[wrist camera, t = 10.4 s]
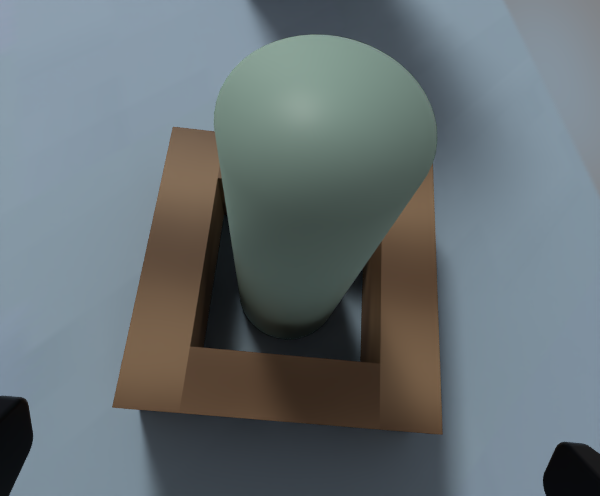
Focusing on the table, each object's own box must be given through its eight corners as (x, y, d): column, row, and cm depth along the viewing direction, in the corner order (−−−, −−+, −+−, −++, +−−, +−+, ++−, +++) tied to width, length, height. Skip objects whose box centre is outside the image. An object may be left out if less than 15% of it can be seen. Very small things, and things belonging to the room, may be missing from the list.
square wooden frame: (410, 432, 19) (442, 434, 15) (138, 409, 18) (112, 407, 15) (407, 194, 23) (432, 156, 19) (185, 169, 22) (173, 126, 19)
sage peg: (351, 318, 20) (476, 182, 9) (258, 354, 19) (259, 255, 8) (314, 233, 22) (380, 15, 10) (226, 263, 21) (185, 61, 9)
